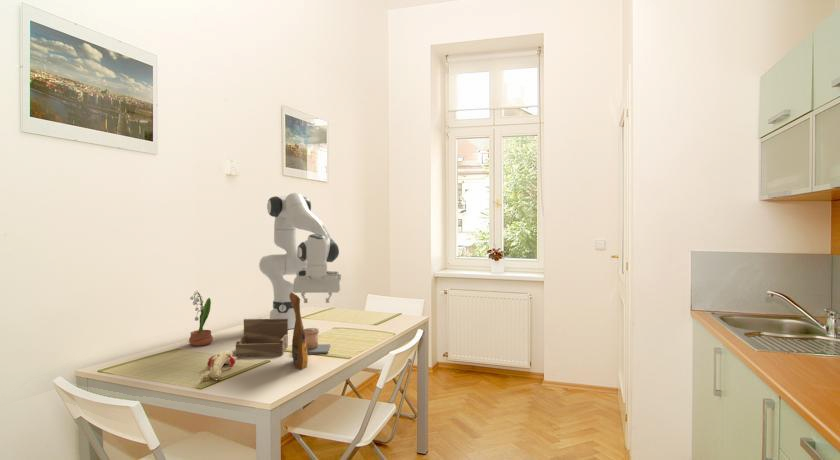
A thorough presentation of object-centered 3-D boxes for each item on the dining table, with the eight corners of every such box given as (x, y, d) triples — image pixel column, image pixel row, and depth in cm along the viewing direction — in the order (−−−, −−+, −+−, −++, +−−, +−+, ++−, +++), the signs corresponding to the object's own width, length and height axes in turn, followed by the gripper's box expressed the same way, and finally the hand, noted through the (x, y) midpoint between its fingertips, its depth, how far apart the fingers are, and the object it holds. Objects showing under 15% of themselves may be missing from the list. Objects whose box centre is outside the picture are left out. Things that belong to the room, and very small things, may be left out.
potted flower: (201, 348, 208) (201, 292, 207) (181, 347, 209) (181, 291, 209) (217, 342, 219) (217, 288, 219) (198, 340, 221) (198, 288, 221)
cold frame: (244, 347, 210) (244, 319, 210) (287, 346, 212) (288, 318, 212) (235, 356, 196) (235, 326, 196) (282, 355, 198) (282, 325, 198)
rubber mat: (305, 346, 212) (305, 344, 212) (330, 346, 213) (330, 344, 213) (301, 354, 200) (301, 352, 200) (328, 353, 201) (328, 351, 201)
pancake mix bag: (290, 371, 177) (291, 297, 177) (289, 357, 195) (289, 290, 195) (308, 370, 179) (309, 296, 179) (305, 356, 197) (306, 290, 197)
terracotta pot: (303, 346, 210) (303, 328, 210) (318, 345, 211) (319, 327, 211) (302, 350, 203) (302, 331, 203) (318, 349, 204) (318, 331, 204)
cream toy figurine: (226, 384, 167) (240, 358, 191) (226, 360, 166) (239, 337, 190) (196, 386, 165) (214, 359, 189) (196, 362, 164) (213, 338, 188)
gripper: (341, 270, 210) (341, 301, 211) (294, 270, 208) (294, 301, 208) (340, 272, 204) (340, 303, 204) (292, 272, 202) (292, 304, 202)
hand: (316, 302), depth 206 cm, fingers open, 8 cm apart
